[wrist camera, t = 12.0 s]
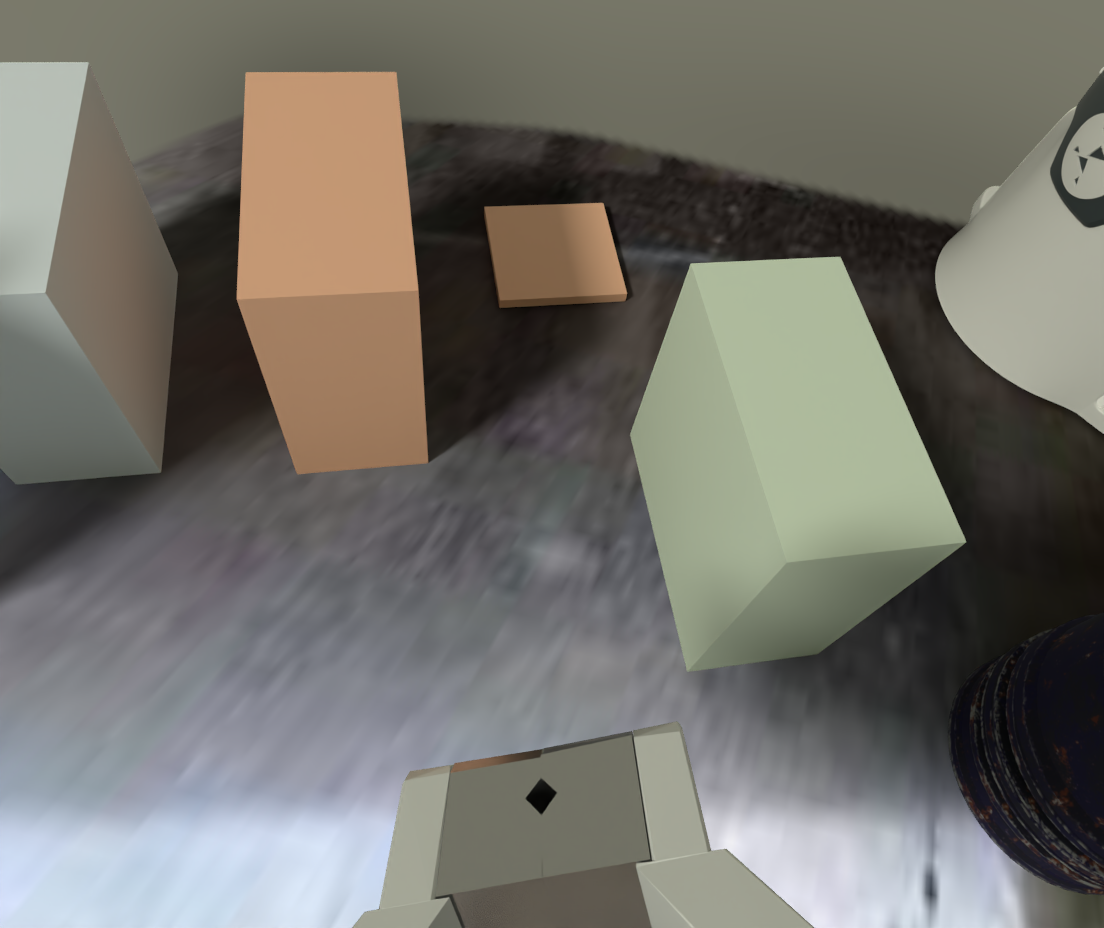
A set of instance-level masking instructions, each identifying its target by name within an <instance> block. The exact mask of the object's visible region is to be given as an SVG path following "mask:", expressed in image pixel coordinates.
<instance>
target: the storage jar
mask: <svg viewBox="0 0 1104 928" xmlns="http://www.w3.org/2000/svg"><path fill="white" fill-rule="evenodd" d="M948 740H949V752H950V757H951V762H952V767H953V771H954V774H955V777H956V780H957V782H958V785H959V788H960V790H961V792H962V794H963V796H964V799H965V801H966V803H967V805H968V807H969V808H970V810H971V812H972V813H973V815H974V816H975V818H976V819H977V821H978V822H979V824H980V826H981V827H982V828H983V829H984V830H985V832H986V833H987V834H988V835H989V837H990V838H991V839H992V840H993V841H994V843H995V844H996V845H997V846H998V847H999V848H1000V849H1002V850H1003V851H1004V852H1005V853H1006V854H1007V855H1008V856H1009V857H1010V858H1011V859H1012V860H1014V861H1015V862H1016V863H1017V864H1019V865H1020V866H1021V867H1023V868H1024V869H1025V870H1027V871H1028V872H1030V873H1032V874H1033V875H1035V876H1037V877H1039V878H1040V879H1042V880H1044V881H1046V882H1047V883H1050V884H1053V885H1055V886H1058V887H1060V888H1063V889H1065V890H1069V891H1073V892H1078V893H1082V894H1093V895H1104V612H1103V613H1101V614H1098V615H1088V616H1084V617H1081V618H1077V619H1074V620H1071V621H1069V622H1067V623H1065V624H1062V625H1060V626H1058V627H1056V628H1053V629H1050V630H1046V631H1043V632H1041V633H1039V634H1037V635H1035V636H1033V637H1031V638H1029V639H1027V640H1025V641H1023V642H1021V643H1019V644H1017V645H1015V646H1014V647H1013V648H1011V649H1010V650H1009V651H1008V652H1007V653H1005V654H1004V655H1002V656H999V657H997V658H995V659H993V660H991V661H989V662H988V663H986V664H984V665H982V666H980V667H979V668H978V669H977V670H975V671H974V672H973V673H972V674H970V675H969V677H968V678H967V679H966V680H965V682H964V683H963V684H962V686H961V687H960V689H959V691H958V693H957V695H956V697H955V699H954V702H953V705H952V709H951V712H950V718H949V728H948Z"/></svg>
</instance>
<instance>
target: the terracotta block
mask: <svg viewBox="0 0 1104 928" xmlns="http://www.w3.org/2000/svg"><path fill="white" fill-rule="evenodd" d="M237 302H238V305H239V308H240V311H241V313H242V316H243V319H244V322H245V325H246V328H247V331H248V334H249V337H250V339H251V342H252V345H253V348H254V351H255V354H256V357H257V360H258V363H259V365H260V368H261V371H262V374H263V377H264V380H265V383H266V386H267V388H268V391H269V394H270V397H271V400H272V403H273V406H274V409H275V412H276V414H277V417H278V420H279V423H280V426H281V429H282V432H283V435H284V438H285V440H286V443H287V446H288V449H289V452H290V455H291V458H292V461H293V464H294V466H295V469H296V472H297V474H304V473H316V472H328V471H340V470H352V469H363V468H375V467H387V466H399V465H411V464H422V463H428V450H427V432H426V414H425V397H424V379H423V361H422V344H421V326H420V308H419V291H418V281H417V271H416V261H415V251H414V241H413V232H412V222H411V212H410V202H409V192H408V183H407V173H406V163H405V153H404V143H403V134H402V124H401V114H400V104H399V94H398V85H397V75H396V72H246V79H245V104H244V129H243V154H242V179H241V203H240V228H239V253H238V278H237Z"/></svg>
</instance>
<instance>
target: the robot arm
mask: <svg viewBox="0 0 1104 928" xmlns="http://www.w3.org/2000/svg"><path fill="white" fill-rule="evenodd" d="M935 281H936V289H937V294H938V297H939V301H940V303H941V306H942V308H943V310H944V313H945V315H946V317H947V318H948V320H949V322H950V324H951V325H952V327H953V328H954V330H955V331H956V332H957V334H958V335H959V337H960V338H961V339H962V340H963V341H964V343H965V344H966V345H967V346H968V347H969V348H970V349H971V350H972V351H973V352H974V353H975V354H976V355H977V356H978V357H979V358H980V359H981V360H982V361H983V362H984V363H986V364H987V365H988V366H989V367H991V368H992V369H993V370H994V371H996V372H997V373H999V374H1000V375H1001V376H1003V377H1004V378H1006V379H1007V380H1009V381H1010V382H1012V383H1014V384H1016V385H1017V386H1019V387H1021V388H1023V389H1025V390H1026V391H1028V392H1030V393H1032V394H1035V395H1037V396H1039V397H1041V398H1044V399H1046V400H1049V401H1051V402H1054V403H1056V404H1058V405H1061V406H1063V407H1065V408H1067V409H1069V410H1071V411H1073V412H1075V413H1077V414H1078V415H1080V416H1081V417H1082V418H1083V419H1085V420H1086V421H1087V422H1089V423H1090V424H1091V425H1092V426H1094V427H1095V428H1096V429H1098V430H1099V431H1100V432H1102V433H1103V434H1104V67H1103V68H1102V69H1101V71H1100V75H1099V76H1098V78H1097V79H1096V80H1095V82H1094V83H1093V84H1092V86H1091V87H1090V88H1089V90H1088V91H1087V92H1086V94H1085V95H1084V96H1083V98H1082V99H1081V100H1080V102H1079V103H1078V105H1077V106H1076V107H1074V108H1073V109H1071V110H1070V111H1069V112H1068V113H1066V115H1065V116H1064V117H1063V118H1062V119H1061V120H1060V121H1059V122H1058V123H1057V124H1056V125H1055V126H1054V127H1053V128H1052V130H1051V131H1050V132H1049V133H1048V134H1047V135H1046V136H1045V137H1044V139H1042V141H1041V142H1040V143H1039V144H1038V145H1037V146H1036V147H1035V148H1034V149H1033V150H1032V152H1031V153H1030V154H1029V155H1028V156H1027V157H1026V158H1025V159H1024V161H1023V162H1022V163H1021V164H1020V165H1019V166H1018V167H1017V169H1016V170H1015V171H1014V172H1013V173H1012V174H1011V175H1010V176H1009V177H1008V178H1007V180H1006V181H1005V182H1004V183H1003V184H1002V185H1001V186H992V187H989V188H987V189H986V190H985V191H984V192H983V194H982V195H981V196H980V197H979V198H978V199H977V200H976V201H975V203H974V206H973V208H972V212H971V216H970V221H969V223H968V224H967V225H966V226H965V227H964V228H962V229H961V230H960V231H959V232H958V233H957V234H956V235H955V236H954V237H952V238H951V239H950V240H949V241H948V243H947V244H946V245H945V246H944V248H943V249H942V251H941V253H940V255H939V258H938V261H937V265H936V272H935ZM352 928H814V927H813V926H812V925H811V924H810V923H808V922H807V921H806V920H805V919H804V918H803V917H802V916H801V915H800V914H798V913H797V912H796V911H795V910H794V909H793V908H792V907H791V906H789V905H788V904H787V903H786V902H785V901H784V900H783V899H782V898H781V897H779V896H778V895H777V894H776V893H775V892H774V891H773V890H772V889H770V888H769V887H768V886H767V885H766V884H765V883H764V882H763V881H762V880H760V879H759V878H758V877H757V876H756V875H755V874H754V873H753V872H751V871H750V870H749V869H748V868H747V867H746V866H745V865H744V864H743V863H741V862H740V861H739V860H738V859H737V858H736V857H735V856H734V855H733V854H731V853H730V852H729V851H728V850H727V849H722V850H715V851H711V848H710V844H709V840H708V836H707V831H706V827H705V823H704V819H703V815H702V810H701V806H700V802H699V798H698V793H697V789H696V785H695V781H694V777H693V772H692V768H691V764H690V760H689V756H688V751H687V747H686V743H685V739H684V734H683V730H682V727H681V726H680V724H679V723H678V722H673V723H668V724H663V725H658V726H653V727H648V728H643V729H638V730H633V732H632V731H630V732H625V733H620V734H615V735H610V736H605V737H600V738H594V739H589V740H584V741H579V742H574V743H569V744H564V745H559V746H554V747H549V748H544V749H541V750H534V751H528V752H522V753H516V754H510V755H503V756H497V757H491V758H485V759H479V760H472V761H466V762H460V763H455V764H454V765H449V766H442V767H436V768H429V769H423V770H416V771H410V772H409V774H408V776H407V777H406V779H405V781H404V783H403V785H402V790H401V795H400V800H399V806H398V811H397V816H396V822H395V827H394V832H393V837H392V843H391V848H390V853H389V858H388V864H387V869H386V874H385V880H384V885H383V890H382V895H381V901H380V906H379V909H377V910H372V911H367V912H364V913H363V915H362V916H361V917H360V918H359V920H358V921H357V922H356V923H355V925H354V926H353V927H352Z"/></svg>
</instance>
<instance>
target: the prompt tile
mask: <svg viewBox="0 0 1104 928" xmlns="http://www.w3.org/2000/svg"><path fill="white" fill-rule="evenodd" d="M484 217H485V223H486V229H487V236H488V242H489V248H490V254H491V260H492V266H493V272H494V279H495V285H496V291H497V297H498V303H499V308H508V307H527V306H546V305H564V304H583V303H602V302H620V301H625V300H626V297H627V291H626V287H625V283H624V280H623V276H622V272H621V268H620V265H619V261H618V257H617V253H616V249H615V246H614V242H613V238H612V234H611V231H610V227H609V223H608V219H607V215H606V212H605V208H604V204H603V203H586V204H555V205H524V206H493V207H484Z"/></svg>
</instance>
